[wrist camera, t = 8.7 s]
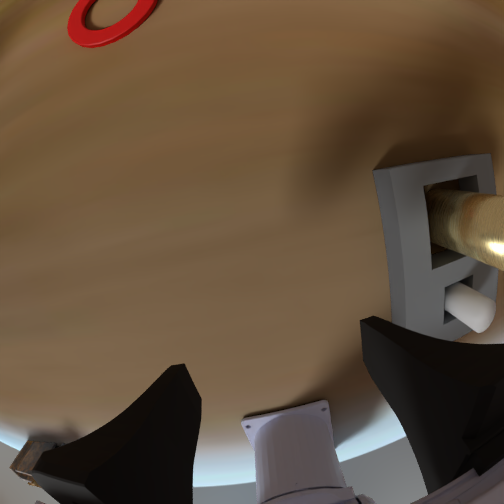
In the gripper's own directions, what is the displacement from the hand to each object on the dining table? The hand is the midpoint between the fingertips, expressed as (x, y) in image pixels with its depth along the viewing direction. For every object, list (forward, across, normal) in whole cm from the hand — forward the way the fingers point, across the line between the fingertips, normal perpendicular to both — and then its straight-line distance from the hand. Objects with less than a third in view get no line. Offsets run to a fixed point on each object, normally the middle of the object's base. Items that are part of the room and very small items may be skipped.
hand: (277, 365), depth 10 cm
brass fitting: (+9, -15, -2) cm, 18 cm away
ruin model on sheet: (+10, +37, +18) cm, 42 cm away
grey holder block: (+9, -15, +2) cm, 18 cm away
